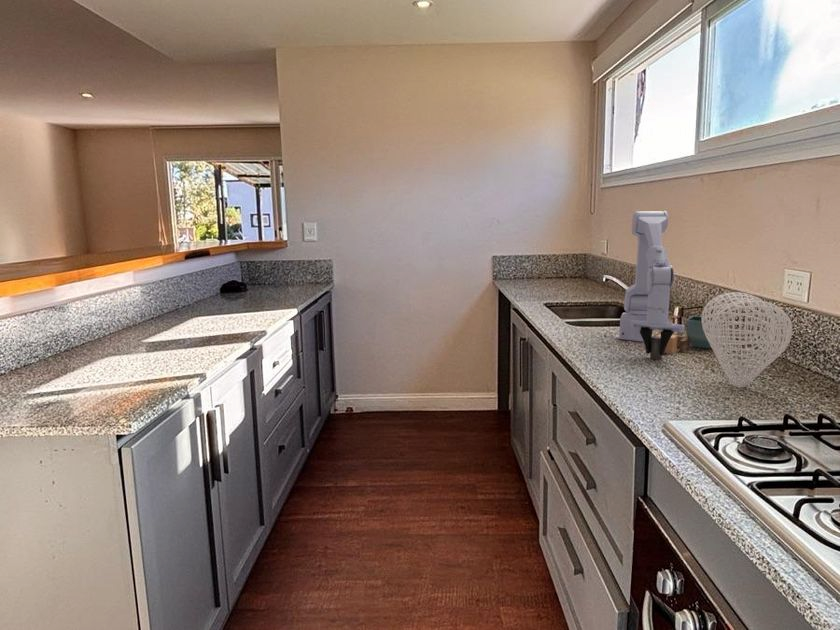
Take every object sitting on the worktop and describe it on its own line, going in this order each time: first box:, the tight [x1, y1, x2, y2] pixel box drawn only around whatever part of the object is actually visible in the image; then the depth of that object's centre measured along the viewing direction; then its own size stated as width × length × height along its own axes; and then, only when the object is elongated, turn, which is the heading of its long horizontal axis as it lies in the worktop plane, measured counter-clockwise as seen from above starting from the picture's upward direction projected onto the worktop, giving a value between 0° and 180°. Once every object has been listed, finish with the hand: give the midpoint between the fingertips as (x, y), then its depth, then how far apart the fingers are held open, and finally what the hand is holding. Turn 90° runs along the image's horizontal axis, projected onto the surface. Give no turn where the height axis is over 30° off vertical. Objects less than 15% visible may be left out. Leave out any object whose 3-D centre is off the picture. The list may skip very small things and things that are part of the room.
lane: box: [652, 333, 691, 353], centre depth 179 cm, size 10×8×4 cm
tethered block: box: [649, 333, 679, 360], centre depth 171 cm, size 5×14×6 cm, turn 141°
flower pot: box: [685, 315, 720, 349], centre depth 181 cm, size 9×9×9 cm
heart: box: [701, 291, 793, 389], centre depth 135 cm, size 28×16×22 cm, turn 164°
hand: (655, 353), depth 166 cm, fingers closed on tethered block, 3 cm apart
